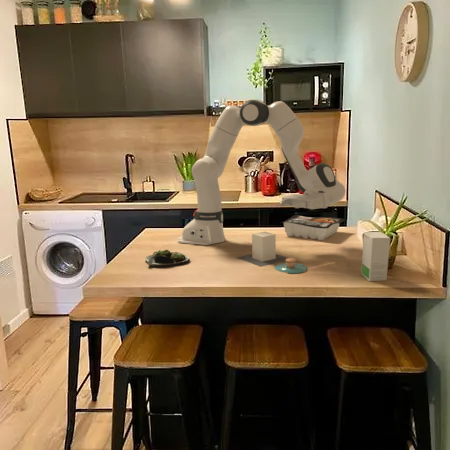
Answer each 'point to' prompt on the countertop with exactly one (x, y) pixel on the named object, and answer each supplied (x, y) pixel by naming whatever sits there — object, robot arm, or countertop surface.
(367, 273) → the skincare box
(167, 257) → the salad plate
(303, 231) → the food packaging
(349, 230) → the countertop surface
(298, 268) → the teal pot lid
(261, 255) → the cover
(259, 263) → the mat
